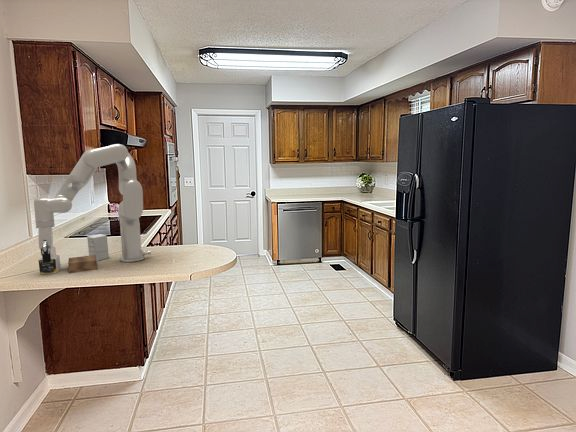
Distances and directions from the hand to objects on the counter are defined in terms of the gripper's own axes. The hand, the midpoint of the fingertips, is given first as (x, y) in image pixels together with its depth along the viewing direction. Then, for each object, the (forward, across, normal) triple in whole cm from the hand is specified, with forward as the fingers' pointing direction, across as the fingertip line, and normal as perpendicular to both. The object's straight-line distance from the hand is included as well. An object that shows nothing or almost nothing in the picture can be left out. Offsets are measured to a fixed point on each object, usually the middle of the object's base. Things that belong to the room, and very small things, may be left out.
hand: (48, 259), depth 191 cm
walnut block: (+6, +1, +15) cm, 16 cm away
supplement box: (+6, -16, +22) cm, 28 cm away
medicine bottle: (+6, 0, +1) cm, 6 cm away
